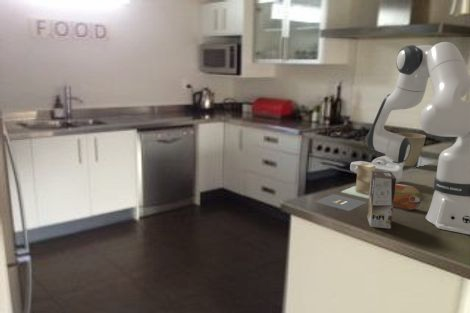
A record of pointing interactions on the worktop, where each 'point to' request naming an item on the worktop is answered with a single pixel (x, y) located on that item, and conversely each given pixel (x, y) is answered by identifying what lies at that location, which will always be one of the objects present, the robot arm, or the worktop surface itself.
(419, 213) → the worktop surface
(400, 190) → the tin
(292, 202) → the worktop surface
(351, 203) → the tile
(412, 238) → the worktop surface
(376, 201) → the coffee box
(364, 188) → the beech block
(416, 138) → the plant pot
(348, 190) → the board
